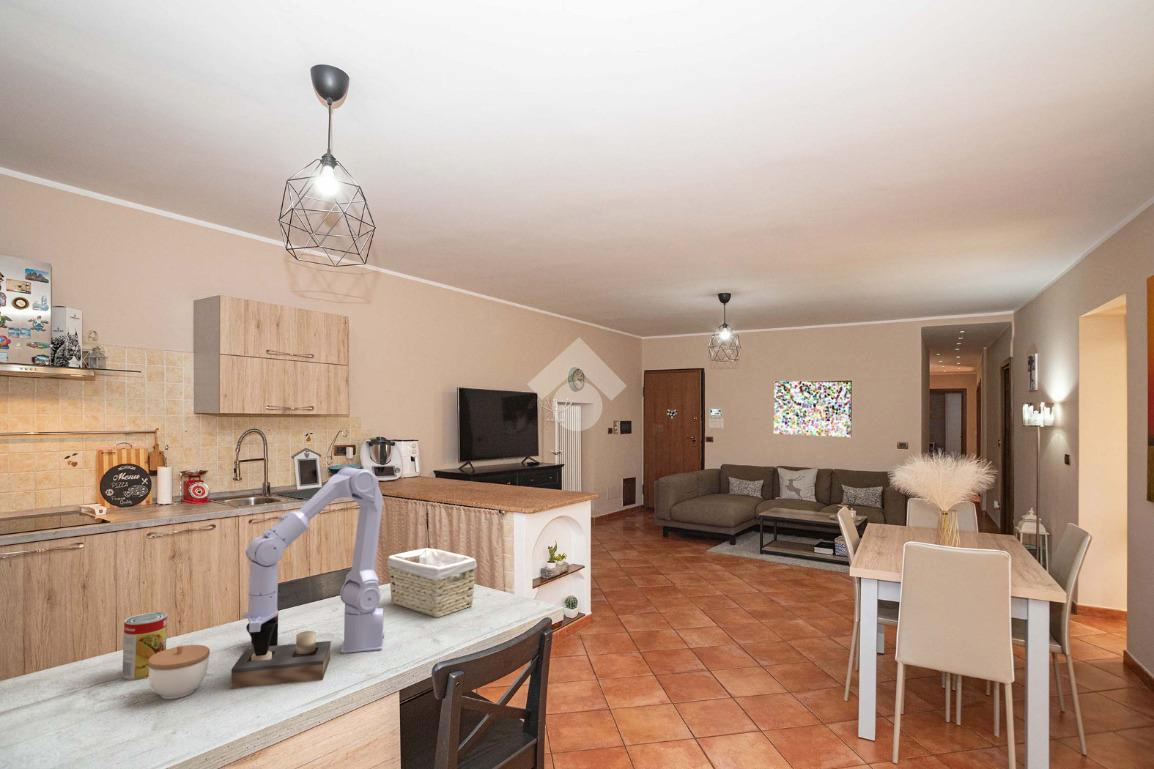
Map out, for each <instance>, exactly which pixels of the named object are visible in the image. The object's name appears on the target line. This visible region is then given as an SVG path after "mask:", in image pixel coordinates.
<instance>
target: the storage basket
mask: <svg viewBox="0 0 1154 769" xmlns="http://www.w3.org/2000/svg"><path fill="white" fill-rule="evenodd" d="M417 559H418V560H417ZM414 560H417V562H413V561H414ZM387 567H388V573H389V574H388V575H389V584H390V588H389V590H390V595H391V596H390V597H391V603H393V604H395V605H397V606H401V607H403V608H407V609H409V610H410V609H411V610H412V611H415V612H417V611H418V613H420V612H421V614H424V615H425V614H426V615H428V616H432V617H435V618H441V617H444V616H446V615H449V614H453V613H456V612H459V611H458V610H460V611H462V610H465V609H464V608H466V609H468V608H469V607H472V606H473V600H474V591H475V590H474V588H475V575H476V569H477V567H478V565H477V561H476V559H475V558H473V557H471V556H467V555H463V554H459V553H454V552H450V551H447V550H442V549H439V548H437V549H435V548H429V547H424V548H420V549H414V550H411V551H410V550H409V551H405V552H400V553H396V554H392V555H389V556H388V557H387ZM467 607H468V608H467ZM461 609H462V610H461Z"/></svg>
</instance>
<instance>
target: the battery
mask: <svg viewBox="0 0 1154 769" xmlns="http://www.w3.org/2000/svg"><path fill="white" fill-rule="evenodd" d="M275 617H276V618H278V619H279V614H278V615H277V616H275ZM250 639H251V638H250ZM278 639H279V620H278V621H277V623H276V625H275V627H274V630H273V632H272V636H271V640H270V645H269V646H278V641H279V640H278ZM250 641H251V644H252V645H253V642H252V639H251V640H250Z"/></svg>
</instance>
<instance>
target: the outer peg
mask: <svg viewBox="0 0 1154 769" xmlns="http://www.w3.org/2000/svg"><path fill="white" fill-rule="evenodd" d="M270 659H272V652H271V651H268V652H267V654H266V655H262V656H256V655H255V653H254V654H253V655H252V658H251V661H259V660H270Z"/></svg>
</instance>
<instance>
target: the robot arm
mask: <svg viewBox="0 0 1154 769" xmlns="http://www.w3.org/2000/svg"><path fill="white" fill-rule="evenodd" d="M349 497H351V498H352V499H353V500H354V501H355V502H356V503H357V504H358V506H359V511H358V518H357V525H356V526H357V527H356V534H355V539H354V540H355V542H354V549H353V556H352V564H351V570H349V572H348V573H347V574H346V576H345V581H344V583H343V585H342V587H341V589H340V592H339V595H340V596H339V597H340V600H341V602H342V603H343V604H344V618H343V619H344V624H343V625H344V626H343V634H344V635H343V641H342V646H341V649H340V654H347V653H357V652H368V651H379V650H382V649H383V644H384V639H385V631H384V623H385V622H384V617H385V616H384V615H385V611H384V608H382V607H381V608H380V607H378V605H379V604H380V602H381V591H380V588H379V586H380V580H379V578H378V575H377V573H376V571H375V569H376V568H375V567H376V559H377V553H378V552H377V550H378V545H379V544H378V543H379V536H380V529H381V521H382V512H383V505H384V504H383V503H384V498H383V494H382V491H381V489H380V486H379V477H377V475H375V474H374V473H373V472H372V471H371V470H369V469H366V468H361V469H360V468H354V467H350V466H346V467H342V468H341V469H339V471H338V472H337V473H334V474H333V475H331V477H329V479H328V481H327V482H326V483H325V484H324V485H323V486H322V487H321V488H320V489H319V490H318V491H317V492H316V493H315V494H314V495H313V496H312V497H311V498H310V499H309V500H308V501H307V502H306V503H305V504H303V506H302V507H301V508H300V509H298V510H297V511H295V510H294V511H288V513H282V514H281V515H280V516H279V518H280V519H279V520H278V521H277V522H276V523H275V524H273V525H272V527H270V528H269V529H268V530H267V529H266V530H264V531H262V534H263V535H261V536H257V537H255V538H254V539H252V540H251V541H250V542H249V544H248V547H247V549H246V550H245V556H246V558H247V559H248V560H249V572H248V573H249V574H248V575H249V576H248V577H249V578H248V579H249V580H248V611H245V612H243V613H242V614H241V617H242V619H247V620H248V624H246V628H245V629H246V631H247V632H248V634H249V636H250V639H252V642H253V644H252V646H253V648H254V651H255V655H256V656H262V655H266V654H267V652H268V649H269V645H270V640H271V636H272V632H273V630H274V627H275V625H276V623H277V621H278V622H279V617H278V618H276V617H275V616H277V615H278V616H279V609H278V595H279V594H278V593H279V592H278V586H279V585H278V583H279V582H278V581H279V561H281V559H282V558H283V556H284V551H285V550H286V549H287V548H288V547H289V546H290V545H292V543H294V542H295V541H296V540H297V539H298V538H299V537H300V536H301V535H302V534H304V533H305V532H306V531H307V530H308V527H309V521H310V520H312V519H313V518H314V517H315V516H317V515H318V514H319V513H320V512H321V511H323V509H325V508H326V507H328V506H329V505H331V503H333V502H334V501H335V500H336V499H340V498H341V499H342V498H349Z"/></svg>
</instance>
